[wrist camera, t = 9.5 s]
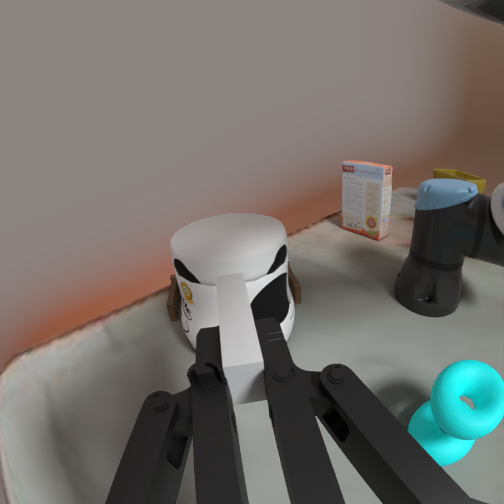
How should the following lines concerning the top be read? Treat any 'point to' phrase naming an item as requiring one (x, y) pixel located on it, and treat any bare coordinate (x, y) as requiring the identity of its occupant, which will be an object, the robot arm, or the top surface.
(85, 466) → the top surface
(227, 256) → the milk container
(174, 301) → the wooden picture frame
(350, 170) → the cracker box
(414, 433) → the donuts
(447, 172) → the flower pot
